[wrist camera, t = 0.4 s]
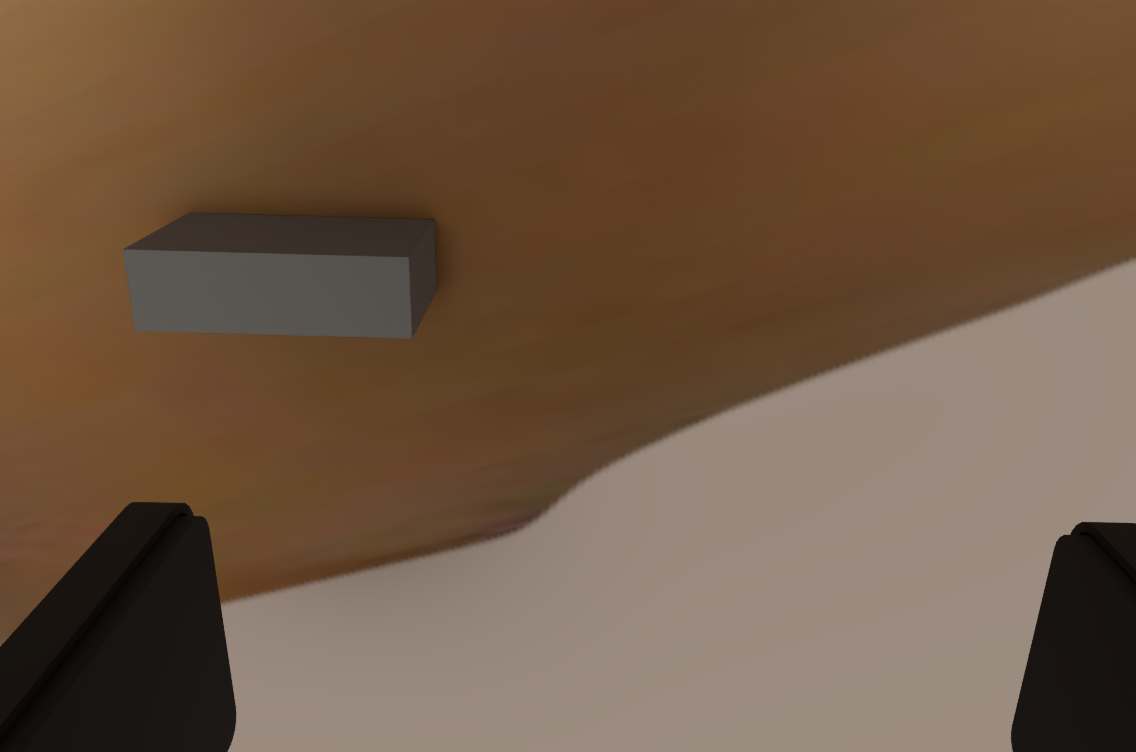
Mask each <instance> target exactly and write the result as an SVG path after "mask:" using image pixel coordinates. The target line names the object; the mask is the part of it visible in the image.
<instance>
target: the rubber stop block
mask: <svg viewBox="0 0 1136 752" xmlns="http://www.w3.org/2000/svg"><path fill="white" fill-rule="evenodd" d="M123 254H124V260H125V266H126V273H127V279H128V286H129V292H130V299H131V305H132V312H133V318H134V324H135V331H163V332H199V333H234V334H269V335H305V336H340V337H375V338H411V339H412V337H413V336H414V334H415V332H416V330H417V328H418V326H419V324H420V322H421V320H422V318H423V316H424V314H425V312H426V310H427V308H428V306H429V304H430V302H431V300H432V298H433V296H434V294H435V292H436V290H437V287H436V254H435V220H434V219H403V218H367V217H330V216H292V215H256V214H218V213H188V214H186V215H185V216H183V217H181V218H179V219H177V220H175V221H174V222H172V223H170V224H168V225H166V226H165V227H163V228H161V229H159V230H157V231H156V232H154V233H152V234H150V235H148V236H146V237H145V238H143V239H141V240H139V241H137V242H136V243H134V244H132V245H130V246H128V247H127V248H125V249H123Z"/></svg>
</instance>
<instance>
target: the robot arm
mask: <svg viewBox="0 0 1136 752" xmlns="http://www.w3.org/2000/svg"><path fill="white" fill-rule="evenodd" d="M235 725H236V706H235V699H234V692H233V685H232V679H231V672H230V665H229V658H228V652H227V645H226V638H225V631H224V625H223V618H222V611H221V604H220V598H219V591H218V584H217V577H216V571H215V564H214V557H213V550H212V544H211V537H210V530H209V526H208V523H207V521H206V519H205V518H204V517H202V516H193V512H192V510H191V509H190V507H189V506H188V505H187V504H185V503H160V502H132V503H130V504H129V505H128V506H126V507H125V508H124V509H123V511H122V512H121V513H120V514H119V515H118V516H117V517H116V518H115V520H114V521H113V522H112V523H111V524H110V525H109V526H108V527H107V528H106V530H105V531H104V532H103V533H102V534H101V535H100V536H99V537H98V538H97V540H96V541H95V542H94V543H93V544H92V545H91V546H90V547H89V549H88V550H87V551H86V552H85V553H84V554H83V555H82V556H81V557H80V559H79V560H78V561H77V562H76V563H75V564H74V565H73V566H72V568H71V569H70V570H69V571H68V572H67V573H66V574H65V575H64V576H63V578H62V579H61V580H60V581H59V582H58V583H57V584H56V585H55V586H54V588H53V589H52V590H51V591H50V592H49V593H48V594H47V595H46V597H45V598H44V599H43V600H42V601H41V602H40V603H39V604H38V605H37V607H36V608H35V609H34V610H33V611H32V612H31V613H30V614H29V615H28V617H27V618H26V619H25V620H24V621H23V622H22V623H21V624H20V626H19V627H18V628H17V629H16V630H15V631H14V632H13V633H12V634H11V636H10V637H9V638H8V639H7V640H6V641H5V642H4V643H3V645H2V646H1V647H0V752H227V751H228V749H229V747H230V745H231V742H232V739H233V735H234V731H235ZM1011 743H1012V749H1013V752H1136V524H1135V523H1104V522H1081V523H1079V524H1078V525H1076V526H1075V528H1074V529H1073V530H1072V532H1071V535H1063V536H1061V537H1060V538H1059V539H1058V541H1057V542H1056V545H1055V548H1054V552H1053V556H1052V560H1051V564H1050V569H1049V573H1048V577H1047V581H1046V585H1045V590H1044V594H1043V598H1042V602H1041V606H1040V611H1039V615H1038V619H1037V624H1036V627H1035V632H1034V636H1033V640H1032V644H1031V648H1030V653H1029V657H1028V662H1027V666H1026V670H1025V674H1024V678H1023V682H1022V686H1021V691H1020V695H1019V699H1018V703H1017V707H1016V712H1015V716H1014V721H1013V724H1012V731H1011Z"/></svg>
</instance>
